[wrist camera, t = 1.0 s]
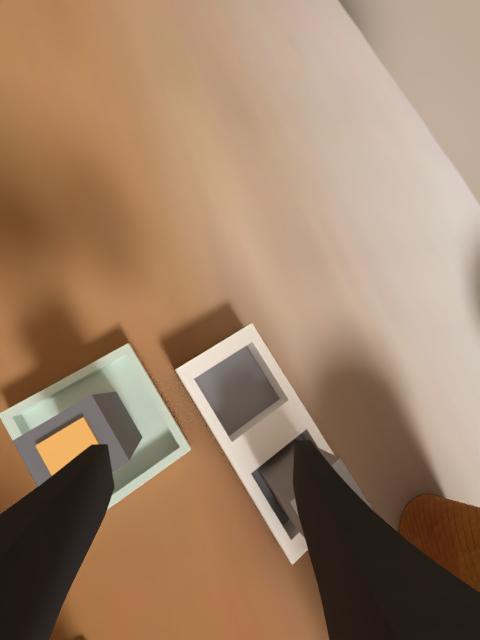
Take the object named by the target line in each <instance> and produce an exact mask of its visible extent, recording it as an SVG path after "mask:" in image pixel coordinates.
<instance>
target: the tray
mask: <svg viewBox="0 0 480 640" xmlns="http://www.w3.org/2000/svg"><path fill="white" fill-rule="evenodd" d="M109 392H117V394H118V396H119V398H120V399H121V401H122V403H123V404H124V406H125V408H126V410H127V411H128V413H129V415H130V416H131V418H132V420H133V422H134V423H135V425H136V427H137V429H138V430H139V432H140V434H141V435H142V439H141V441H140V443H139V444H138V446H137V448H136V450H135V451H134V453H133V455H132V457H131V459H130V460H129V461H128V462H127V463H125V464H124V465H122V466H121V467H119V468H118V469H116V470H115V471H113V472H112V474H113V480H114V486H115V488H114V491H113V494H112V497H111V500H110V503H109V505H108V508H107V509H109V508H110V507H112V506H113V505H114V504H116V503H117V502H119V501H120V500H121V499H123V498H124V497H126V496H127V495H128V494H130V493H131V492H133V491H134V490H135V489H137V488H138V487H140V486H141V485H142V484H144V483H145V482H147V481H148V480H149V479H151V478H152V477H154V476H155V475H156V474H158V473H159V472H161V471H162V470H163V469H165V468H166V467H168V466H169V465H170V464H172V463H173V462H175V461H176V460H177V459H179V458H180V457H181V456H183V455H184V454H186V453H187V452H188V451H190V450H191V446H190V444H189V442H188V441H187V439H186V437H185V436H184V434H183V432H182V430H181V429H180V427H179V425H178V424H177V422H176V420H175V419H174V417H173V415H172V414H171V412H170V410H169V409H168V407H167V405H166V403H165V402H164V400H163V398H162V397H161V395H160V393H159V392H158V390H157V388H156V387H155V385H154V383H153V381H152V380H151V378H150V376H149V375H148V373H147V371H146V370H145V368H144V366H143V365H142V363H141V361H140V359H139V358H138V356H137V354H136V353H135V351H134V349H133V348H132V346H131V345H130V344H129V343H127V344H126V345H124V346H122V347H120V348H118V349H116V350H115V351H113V352H111V353H109V354H107V355H105V356H104V357H102V358H100V359H98V360H96V361H95V362H93V363H91V364H89V365H87V366H85V367H84V368H82V369H80V370H78V371H76V372H74V373H73V374H71V375H69V376H67V377H65V378H64V379H62V380H60V381H58V382H56V383H54V384H53V385H51V386H49V387H47V388H45V389H43V390H42V391H40V392H38V393H36V394H34V395H33V396H31V397H29V398H27V399H25V400H23V401H22V402H20V403H18V404H16V405H14V406H12V407H11V408H9V409H7V410H5V411H3V412H2V413H0V418H1V420H2V422H3V423H4V425H5V427H6V429H7V431H8V433H9V434H10V436H11V438H12V440H15V439H16V438H18V437H20V436H21V435H23V434H25V433H27V432H28V431H30V430H32V429H33V428H35V427H37V426H39V425H40V424H42V423H44V422H45V421H47V420H49V419H51V418H52V417H54V416H56V415H57V414H59V413H61V412H63V411H64V410H66V409H68V408H70V407H71V406H73V405H75V404H76V403H78V402H80V401H82V400H83V399H85V398H87V397H88V396H90V395H93V394H101V393H109Z"/></svg>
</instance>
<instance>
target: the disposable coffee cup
mask: <svg viewBox="0 0 480 640" xmlns="http://www.w3.org/2000/svg"><path fill="white" fill-rule="evenodd" d="M399 534H400V535H402V536H403V537H404V538H405V539H406V540H408V541H409V542H410V543H412V544H413V545H414V546H415V547H417V548H418V549H419V550H421V551H422V552H423V553H424V554H426V555H427V556H428V557H430V558H431V559H432V560H434V561H435V562H436V563H438V564H439V565H441V566H442V567H443V568H445V569H446V570H448V571H449V572H450V573H452V574H453V575H455V576H456V577H458V578H459V579H461V580H462V581H463V582H465V583H466V584H468V585H469V586H471V587H472V588H474V589H475V590H477V591H479V592H480V507H475V506H472V505H467V504H465V503H460V502H457V501H453V500H450V499H446V498H442V497H441V498H440V497H439V496H435V495H432V494H424V495H420V496H418V497H416V498H414V499H413V500H412V501H411V502H409V504H408V505H407V506H406V508H405V510H404V512H403V514H402V517H401V521H400V528H399Z"/></svg>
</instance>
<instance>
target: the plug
mask: <svg viewBox="0 0 480 640" xmlns="http://www.w3.org/2000/svg"><path fill="white" fill-rule="evenodd" d="M141 439H142V435H141V434H140V432H139V430H138V429H137V427H136V425H135V423H134V422H133V420H132V418H131V416H130V415H129V413H128V411H127V410H126V408H125V406H124V404H123V403H122V401H121V399H120V398H119V396H118V394H117V392H109V393H101V394H93V395H90V396H88V397H87V398H85V399H83V400H82V401H80V402H78V403H76V404H75V405H73V406H71V407H70V408H68V409H66V410H64V411H63V412H61V413H59V414H57V415H56V416H54V417H52V418H51V419H49V420H47V421H45V422H44V423H42V424H40V425H39V426H37V427H35V428H33V429H32V430H30V431H28V432H27V433H25V434H23V435H21V436H20V437H18V438H16V439H15V440H13V443H14V444H15V446H16V448H17V450H18V452H19V454H20V455H21V457H22V459H23V461H24V463H25V465H26V466H27V468H28V470H29V472H30V474H31V476H32V477H33V479H34V481H35V483H36V485H37V487H38V486H40V485H41V484H42V483H44V482H45V481H46V480H47V479H49V478H50V477H51V476H52V475H54V474H55V473H56V472H58V471H59V470H60V469H61V468H63V467H64V466H65V465H66V464H68V463H69V462H70V461H71V460H73V459H74V458H75V457H76V456H78V455H79V454H80V453H81V452H83V451H84V450H85V449H86V448H88V447H89V446H91V445H92V444H108V449H109V455H110V461H111V468H112V472H113V471H115V470H116V469H118V468H119V467H121V466H122V465H124V464H125V463H127V462H128V461H129V460H130V459H131V457H132V455H133V453H134V451H135V450H136V448H137V446H138V444H139V443H140V441H141Z"/></svg>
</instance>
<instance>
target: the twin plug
mask: <svg viewBox="0 0 480 640" xmlns="http://www.w3.org/2000/svg"><path fill="white" fill-rule="evenodd" d="M295 440H299V439H296V438H295V439H293V440H292V441H291V442H290V443H288V444H287V445H286V446H285V447H283V448H282V449H281V450H280V451H278V452H277V453H276V454H275V455H273V456H272V457H271V458H270V459H268V460H267V461H266V462H265V463H263V464H262V465H261V466H260V467H258V468H257V470H258V472H259V474H260V475H261V477H262V479H263V480H264V482H265V484H266V485H267V487H268V489H269V490H270V492H271V494H272V495H273V497H274V499H275V500H276V502H277V503H278V505H279V507H280V508H281V510H282V512H283V513H284V514H285V516H286V517H287V518H288V519H289V520H290V521H291V523H292V524H293V525H294V526H295V527H296V528H297V530H298V531H299V532H300V533H301V534H302V535H303V537H304V533H303V530H302V526H301V523H300V519H299V515H298V512H297V506H296V501H295V495H294V489H293V464H294V442H295ZM317 449H318V450H319V451H320V452H321V454H322V455H323V456H324V457H325V459H326V460H327V461H328V462H329V463H330V465H331V466H332V467H333V468H334V469H335V471H336V472H337V473H338V474H339V475H340V476H341V477H342V479H343V480H344V481H345V482H346V483H347V484H348V485H349V486H350V487H351V488H352V490H353V491H354V492H355V493H356V494H357V495H358V496H359V497H360V498H361V499H362V500H363V501H364V502H365V503H366V504H367V505H368V506H369V507H370V508H371V509H372V507H371V505H370V504H369V502H368V501H367V499H366V498H365V496H364V494H363V493H362V491H361V490H360V488H359V486H358V485H357V483H356V482H355V480H354V478H353V477H352V475H351V474H350V472H349V470H348V469H347V467H346V466H345V464H344V462H343V461H342V459H341V458H340V457H338V456H335V455H333V454H331V453H328V452H326V451H324V450H322V449H319V448H317ZM372 510H373V509H372ZM373 511H374V510H373ZM304 538H305V537H304Z"/></svg>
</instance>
